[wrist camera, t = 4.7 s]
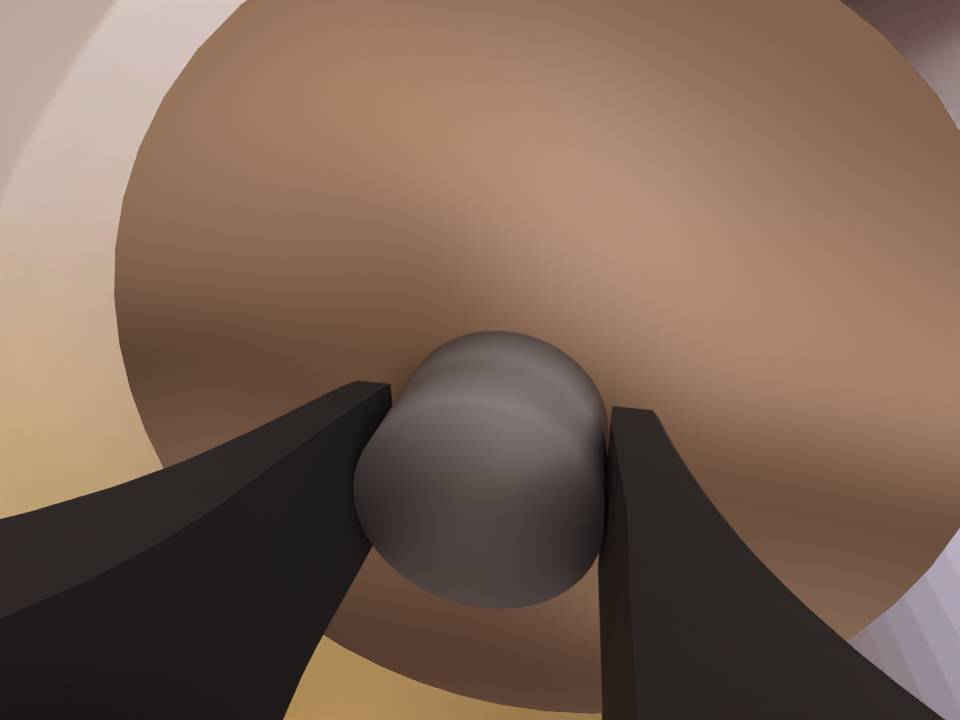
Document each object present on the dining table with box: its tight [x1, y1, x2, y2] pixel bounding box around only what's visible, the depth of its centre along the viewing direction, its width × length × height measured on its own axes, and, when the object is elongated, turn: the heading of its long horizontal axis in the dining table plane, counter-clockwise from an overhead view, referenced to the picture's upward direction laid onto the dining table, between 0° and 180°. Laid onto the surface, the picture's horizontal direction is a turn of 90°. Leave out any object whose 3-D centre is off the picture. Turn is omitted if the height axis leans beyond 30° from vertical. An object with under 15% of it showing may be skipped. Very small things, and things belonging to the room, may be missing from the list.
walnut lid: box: [114, 0, 960, 713], centre depth 10 cm, size 15×15×3 cm
